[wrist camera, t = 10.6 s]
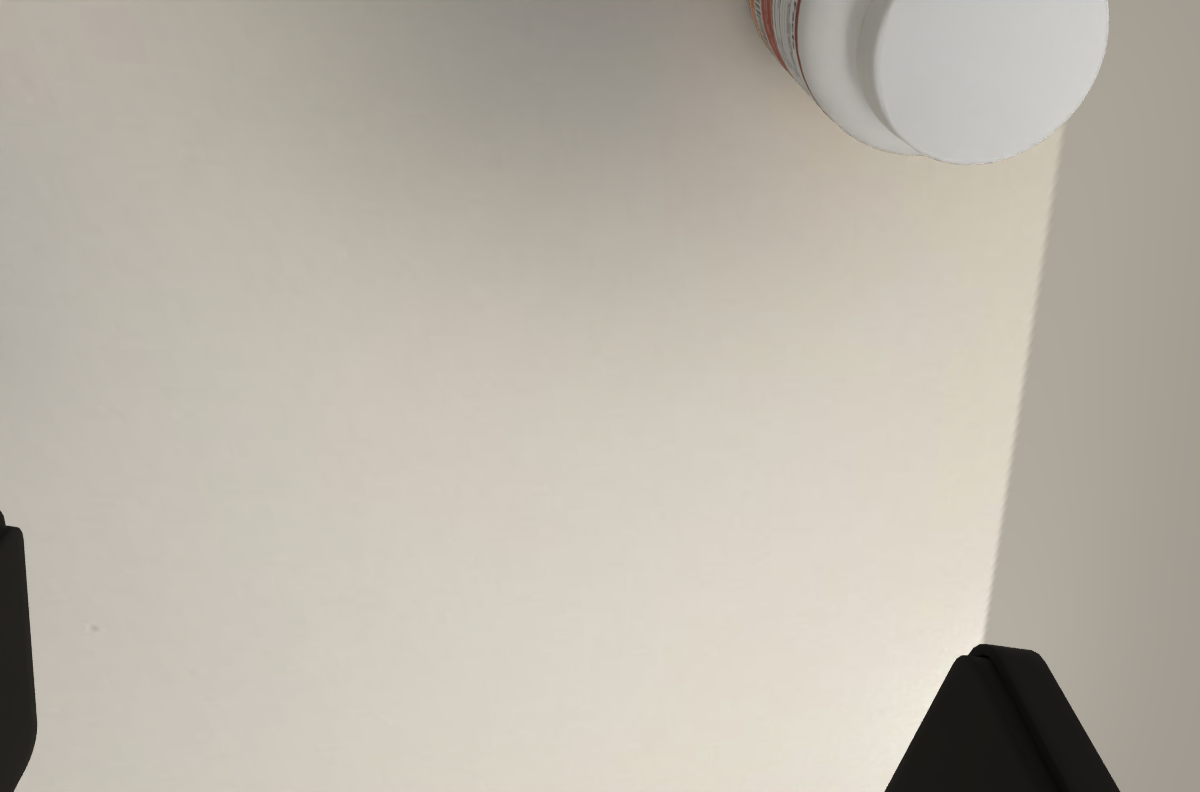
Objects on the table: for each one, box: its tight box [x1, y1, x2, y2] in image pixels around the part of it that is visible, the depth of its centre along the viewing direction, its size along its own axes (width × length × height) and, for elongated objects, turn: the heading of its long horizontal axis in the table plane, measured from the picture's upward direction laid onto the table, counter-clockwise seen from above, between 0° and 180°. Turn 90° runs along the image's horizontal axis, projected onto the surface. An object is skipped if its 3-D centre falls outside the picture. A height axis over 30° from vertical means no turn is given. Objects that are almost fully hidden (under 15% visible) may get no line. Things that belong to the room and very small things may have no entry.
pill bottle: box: [749, 0, 1109, 165], centre depth 25 cm, size 6×6×11 cm
